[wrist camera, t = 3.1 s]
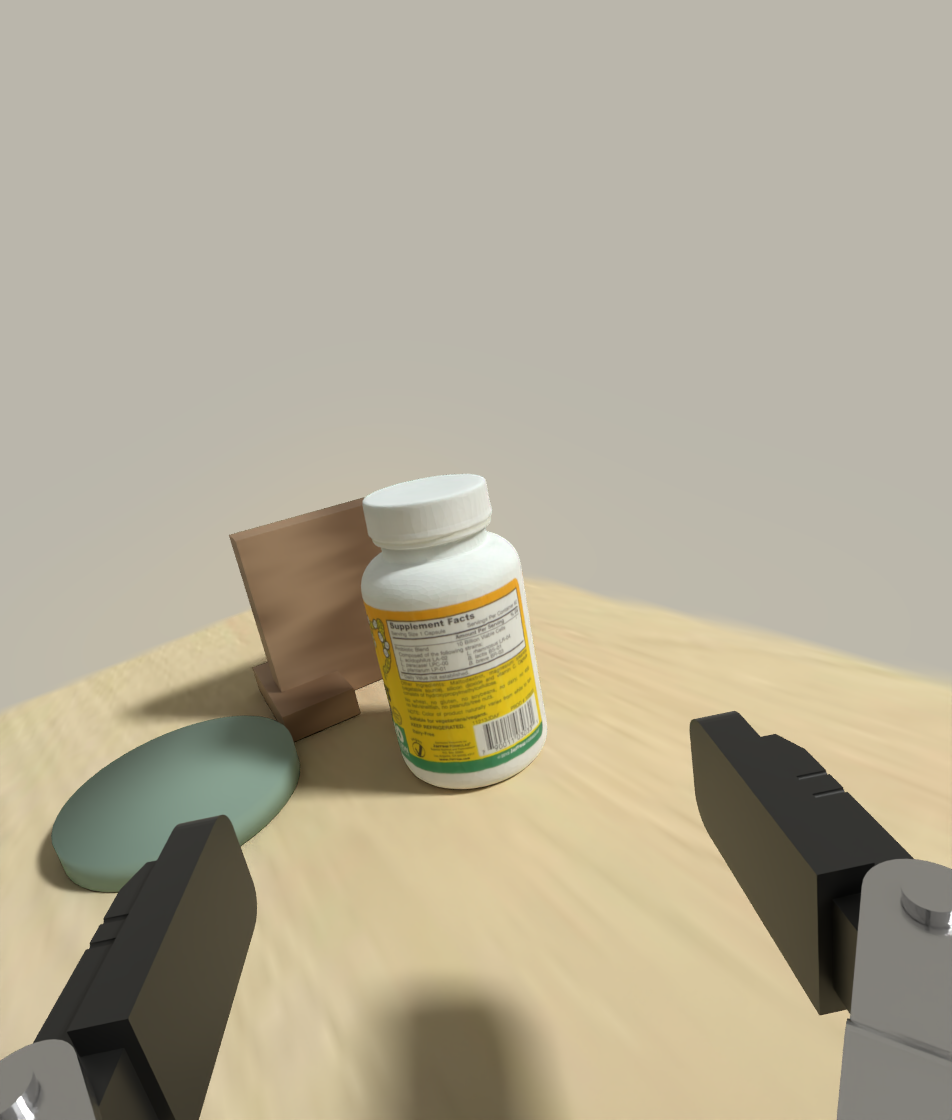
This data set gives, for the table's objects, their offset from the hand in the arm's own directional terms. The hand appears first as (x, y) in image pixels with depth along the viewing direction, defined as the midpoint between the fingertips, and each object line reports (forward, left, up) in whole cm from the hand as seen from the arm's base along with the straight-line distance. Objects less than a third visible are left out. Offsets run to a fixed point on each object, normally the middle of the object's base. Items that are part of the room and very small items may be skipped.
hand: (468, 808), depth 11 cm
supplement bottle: (-7, +8, -6) cm, 13 cm away
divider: (-15, +12, -6) cm, 20 cm away
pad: (-15, +2, -6) cm, 16 cm away
